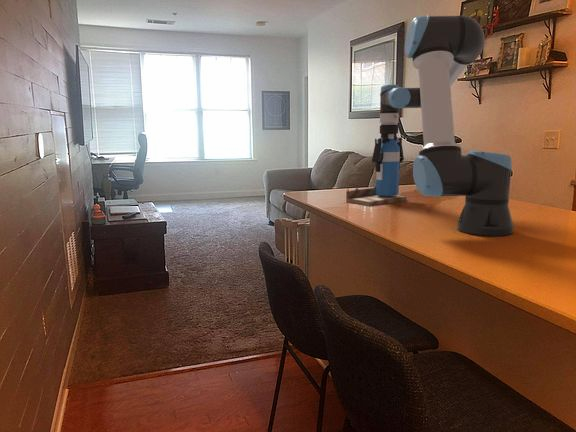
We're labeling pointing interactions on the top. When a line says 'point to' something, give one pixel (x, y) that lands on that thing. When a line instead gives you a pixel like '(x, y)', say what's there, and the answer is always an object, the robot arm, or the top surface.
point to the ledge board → (370, 197)
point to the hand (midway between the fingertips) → (387, 178)
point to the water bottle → (389, 169)
